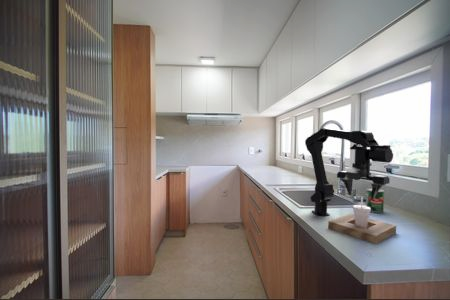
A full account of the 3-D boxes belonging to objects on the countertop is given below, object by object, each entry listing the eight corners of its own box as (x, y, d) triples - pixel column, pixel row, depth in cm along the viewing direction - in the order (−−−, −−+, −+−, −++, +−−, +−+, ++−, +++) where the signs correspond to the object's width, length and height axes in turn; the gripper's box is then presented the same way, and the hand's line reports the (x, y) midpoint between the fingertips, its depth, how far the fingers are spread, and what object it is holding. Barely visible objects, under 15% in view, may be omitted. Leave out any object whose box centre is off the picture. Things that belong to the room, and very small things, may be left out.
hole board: (328, 228, 96) (328, 221, 96) (350, 219, 106) (350, 213, 106) (375, 244, 81) (376, 235, 81) (395, 232, 91) (396, 225, 91)
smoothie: (369, 229, 95) (370, 195, 94) (370, 234, 89) (371, 199, 89) (352, 226, 98) (353, 194, 97) (352, 231, 92) (353, 197, 92)
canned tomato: (373, 212, 117) (373, 191, 117) (362, 208, 125) (363, 188, 125) (387, 212, 118) (388, 191, 117) (376, 207, 126) (376, 188, 125)
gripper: (330, 159, 100) (329, 194, 100) (377, 163, 84) (375, 205, 85) (344, 158, 106) (343, 191, 106) (391, 162, 90) (389, 201, 91)
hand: (360, 197), depth 97 cm, fingers open, 9 cm apart
